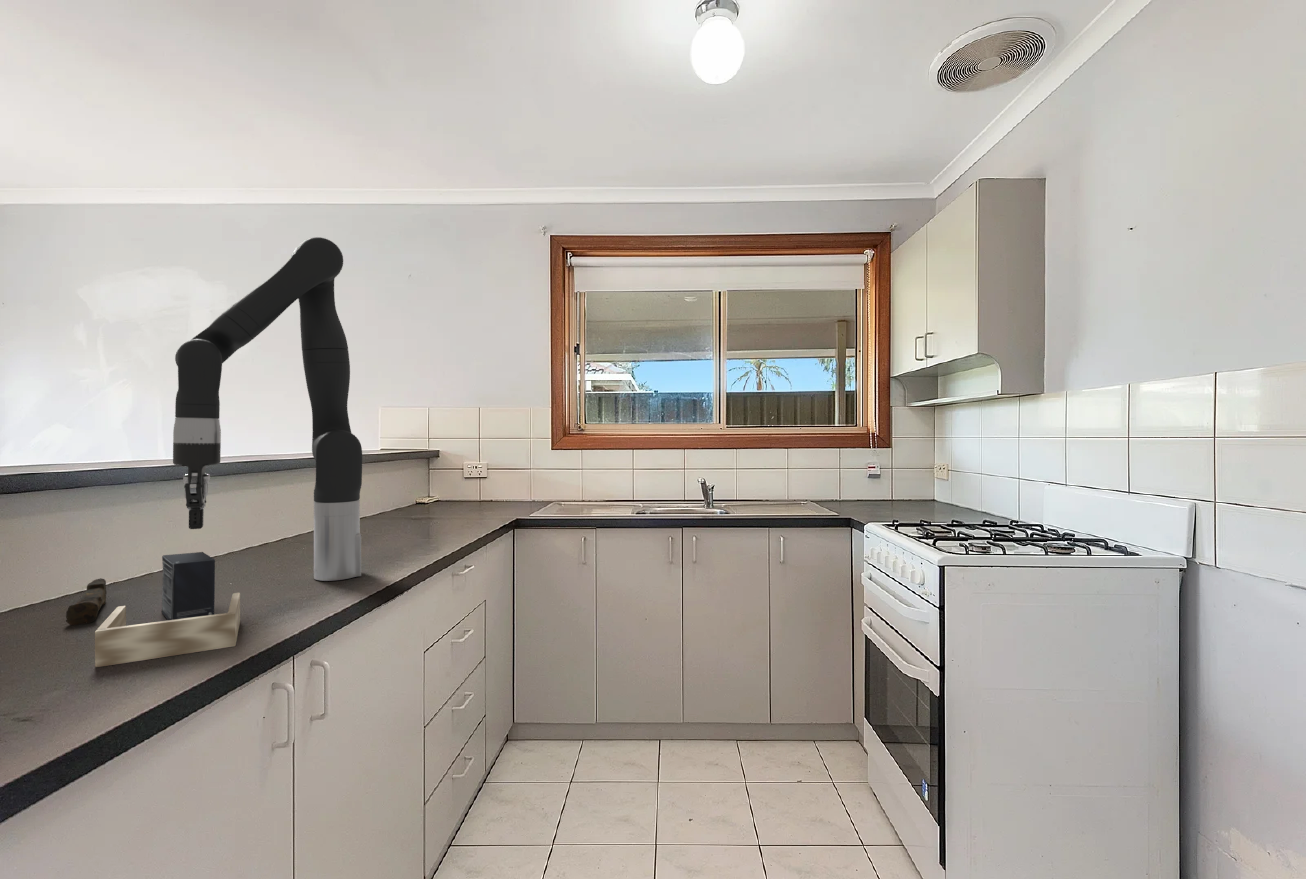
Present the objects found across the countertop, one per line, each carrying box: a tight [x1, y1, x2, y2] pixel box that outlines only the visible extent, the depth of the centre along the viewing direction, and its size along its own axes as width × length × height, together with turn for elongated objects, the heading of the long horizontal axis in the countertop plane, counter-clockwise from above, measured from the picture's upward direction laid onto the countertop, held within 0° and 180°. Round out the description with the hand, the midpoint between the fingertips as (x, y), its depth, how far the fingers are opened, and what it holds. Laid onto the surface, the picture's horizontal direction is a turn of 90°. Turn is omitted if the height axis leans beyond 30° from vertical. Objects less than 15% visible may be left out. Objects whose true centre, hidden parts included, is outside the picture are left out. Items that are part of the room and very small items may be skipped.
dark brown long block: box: [65, 578, 108, 626], centre depth 110 cm, size 19×4×5 cm, turn 33°
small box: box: [160, 551, 216, 621], centre depth 107 cm, size 11×6×10 cm, turn 47°
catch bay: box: [94, 592, 241, 668], centre depth 93 cm, size 16×14×5 cm
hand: (196, 528), depth 119 cm, fingers closed
